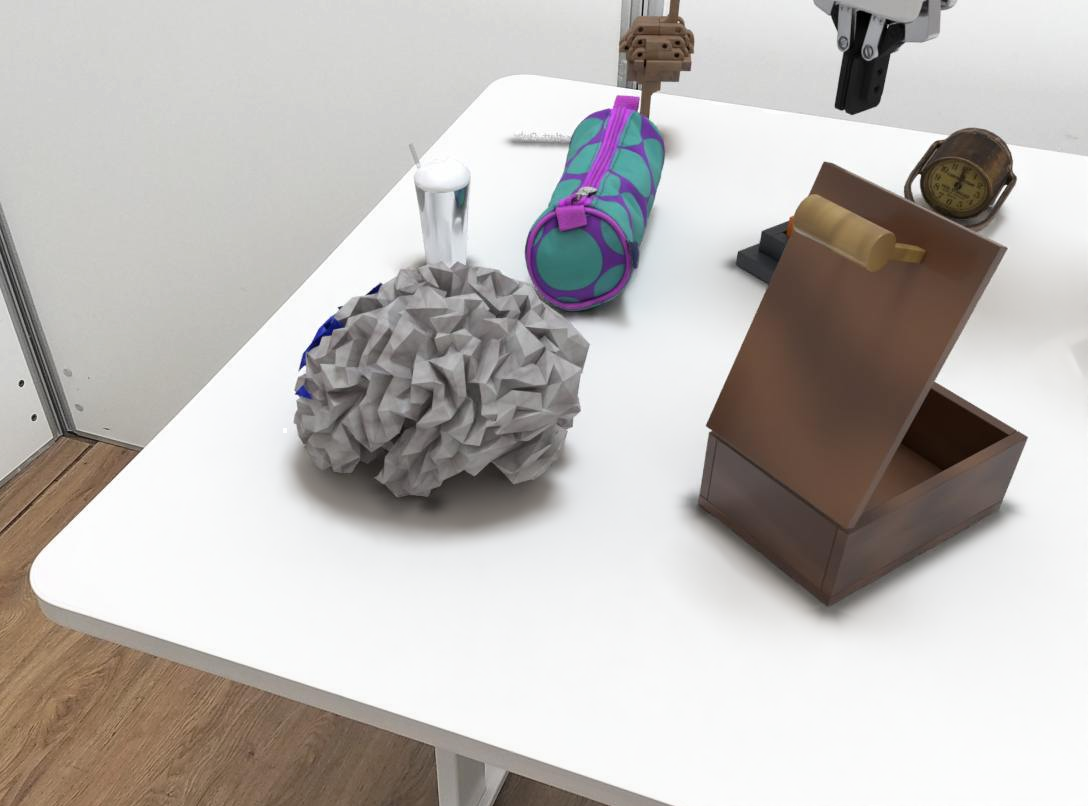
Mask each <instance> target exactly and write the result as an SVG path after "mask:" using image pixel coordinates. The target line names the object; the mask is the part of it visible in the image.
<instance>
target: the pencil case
mask: <svg viewBox="0 0 1088 806" xmlns="http://www.w3.org/2000/svg"><path fill="white" fill-rule="evenodd" d="M640 102H641V96H635V95H624V94H623V95H621V94H616V96H615V99H614V102H613V105H612V108H609V107H608V108H605V109H601V110H597V111H594V112H592V113H590V114H588V115H587V116H586V117H585V118H584V119H582V120H581V121H580V123H579V124H577V126H576V127H575V129H574V130H573V132H572V134H571V137H570V138H571V140H570V141H569V144H568V151H567V154H566V159H565V164H564V168H563V172H562V175H561V177H560V179H559V181H558V182H557V184H556V186H555V188H554V191H552V194H551V197H550V201H549V203H548V205H547V208H545V210H544V211H542V212H541V214H540V215H539V216H538V217H537V218H536V219H535V221H534V222H533V224H532V225H531V227H530V230H529V231H528V233H527V236H526V239H525V240H526V241H525V244H524V259H525V266H526V270H527V273H528V276H529V278H530V280H531V282H532V283H533V286H534V287H535V288H536V290H537V291H538V292H539V294H540V295H541V296H542V297H543V298H544V300H546V302H549V303H550V304H551V305H553V306H555V307H557V308H558V309H561V310H564V311H567V312H576V311H578V312H579V311H584V310H585V311H586V310H589V309H592V308H595V307H598V306H601V305H603V304H605V303H608V302H610V301H611V300H613V299H615V298H616V297H617V296H619V295H620V294H621V293H622V292H623V291H624V290H625V289H626V288H627V286H628V284H629V283H630V282H631V281H630V280H631V278H632V276H633V273H634V270H637V269H638V267H639V262H640V248H641V247H640V246H641V244H642V240H643V238H644V234H645V231H646V229H647V226H648V220H649V218H650V215H651V212H652V209H653V207H654V203H655V200H656V195H657V191H658V188H659V185H660V183H661V178H662V171H663V169H664V165H665V159H666V149H665V143H664V139H663V136H662V134H661V131H660V129H659V128H658V126H657V125H656V124H655V123H654V122H653V121H652V120H651V119H650V118H649V119H648V118H646V117H645V116H643V115H641V114H640V112H639V109H640Z"/></svg>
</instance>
